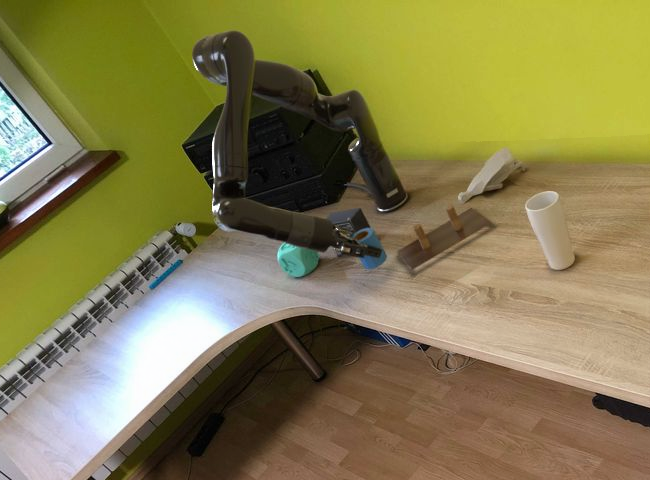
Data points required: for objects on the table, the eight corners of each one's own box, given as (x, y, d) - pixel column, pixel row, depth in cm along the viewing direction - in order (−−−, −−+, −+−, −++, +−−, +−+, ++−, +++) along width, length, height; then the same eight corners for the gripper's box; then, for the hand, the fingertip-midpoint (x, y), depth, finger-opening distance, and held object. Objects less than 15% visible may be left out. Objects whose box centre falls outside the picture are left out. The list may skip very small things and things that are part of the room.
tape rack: (398, 256, 160) (385, 232, 155) (473, 212, 161) (462, 186, 157) (414, 274, 150) (401, 249, 146) (493, 227, 152) (483, 201, 147)
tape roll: (361, 263, 154) (346, 237, 149) (382, 250, 154) (369, 224, 150) (367, 272, 149) (353, 246, 144) (390, 259, 149) (376, 233, 145)
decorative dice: (310, 275, 172) (295, 251, 167) (288, 279, 175) (272, 256, 171) (323, 257, 177) (308, 233, 172) (300, 261, 181) (285, 238, 176)
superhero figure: (512, 168, 173) (451, 201, 169) (504, 135, 168) (441, 169, 163) (534, 175, 165) (471, 210, 161) (527, 142, 160) (461, 177, 155)
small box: (379, 239, 171) (361, 205, 165) (368, 253, 168) (350, 220, 161) (348, 243, 177) (330, 211, 171) (337, 257, 173) (318, 225, 167)
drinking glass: (581, 250, 131) (561, 187, 122) (576, 271, 126) (556, 206, 118) (549, 255, 134) (528, 194, 125) (543, 275, 130) (521, 213, 121)
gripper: (318, 226, 135) (390, 243, 143) (305, 206, 147) (373, 223, 154) (309, 259, 138) (380, 274, 146) (297, 237, 149) (363, 252, 157)
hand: (376, 248), depth 150 cm, fingers closed on tape roll, 6 cm apart
